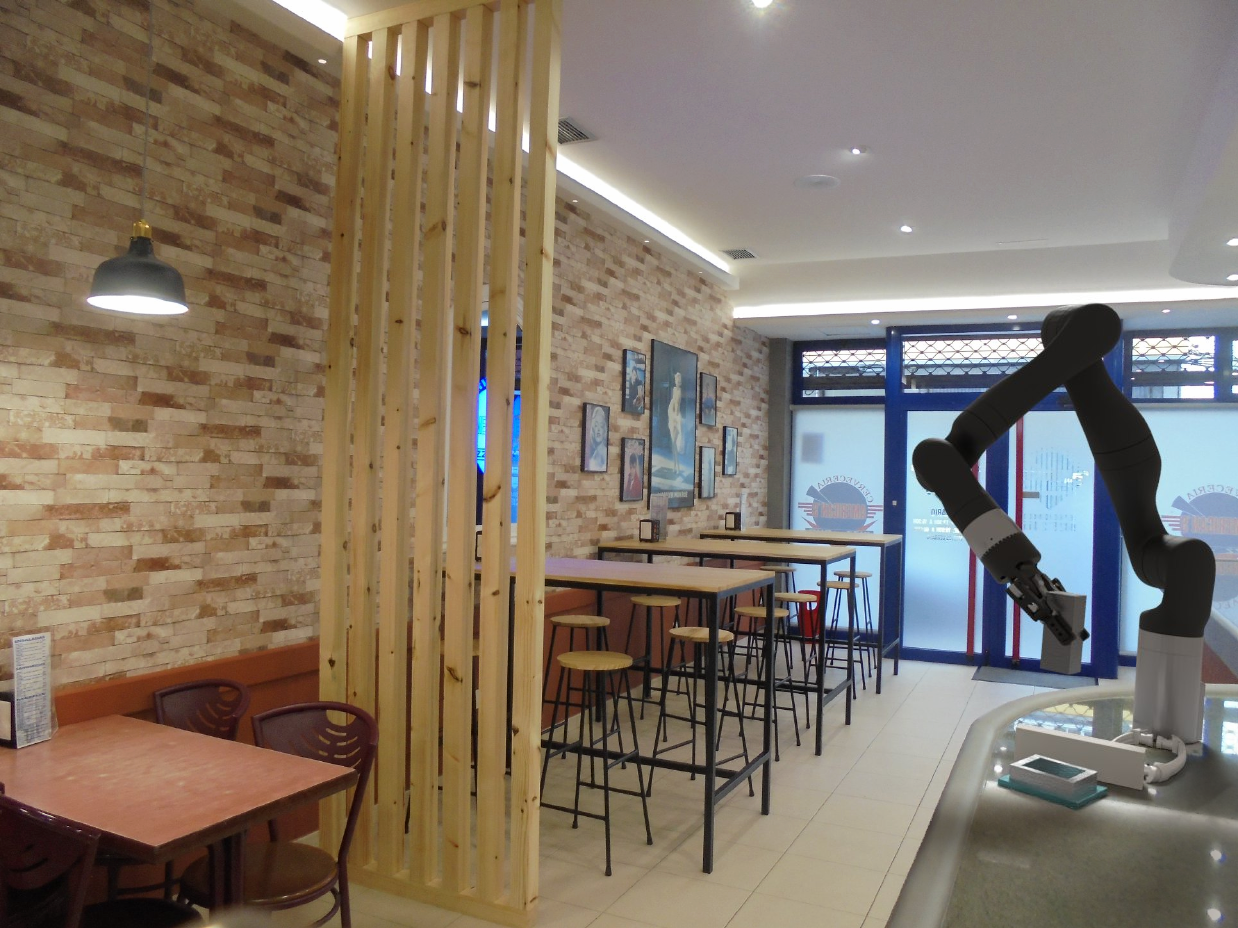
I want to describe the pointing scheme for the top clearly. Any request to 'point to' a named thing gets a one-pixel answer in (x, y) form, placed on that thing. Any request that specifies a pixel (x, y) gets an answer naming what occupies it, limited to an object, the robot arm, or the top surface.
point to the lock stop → (1074, 616)
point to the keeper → (1054, 781)
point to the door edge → (1084, 754)
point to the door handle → (1160, 770)
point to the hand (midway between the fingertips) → (1077, 640)
